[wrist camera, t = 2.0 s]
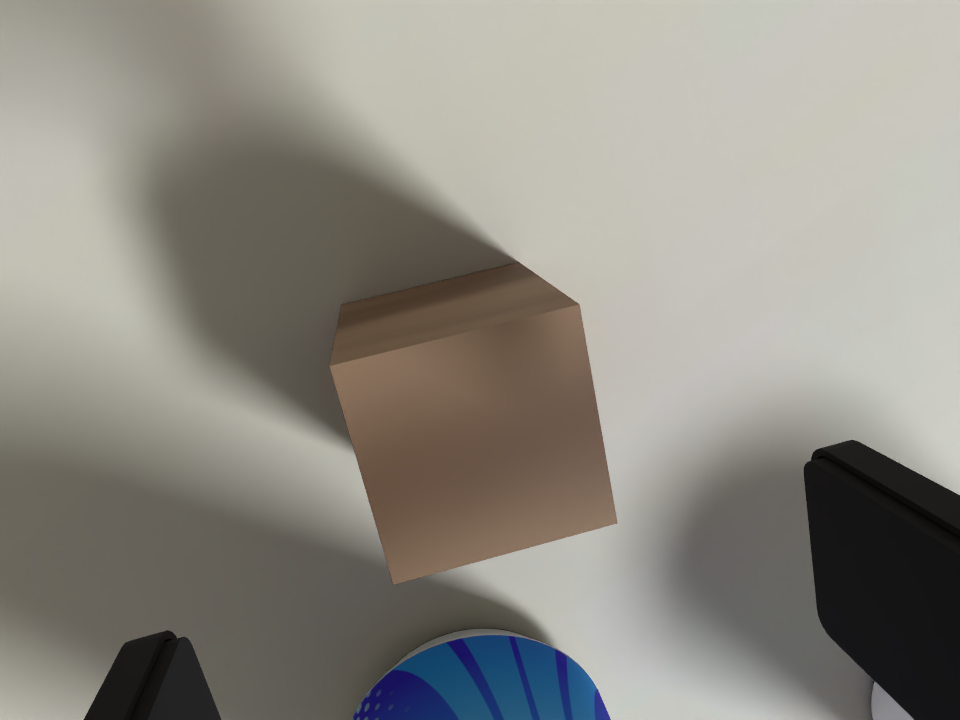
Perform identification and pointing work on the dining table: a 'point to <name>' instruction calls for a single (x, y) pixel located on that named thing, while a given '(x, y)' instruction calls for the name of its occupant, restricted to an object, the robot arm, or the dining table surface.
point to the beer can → (484, 682)
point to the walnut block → (472, 418)
